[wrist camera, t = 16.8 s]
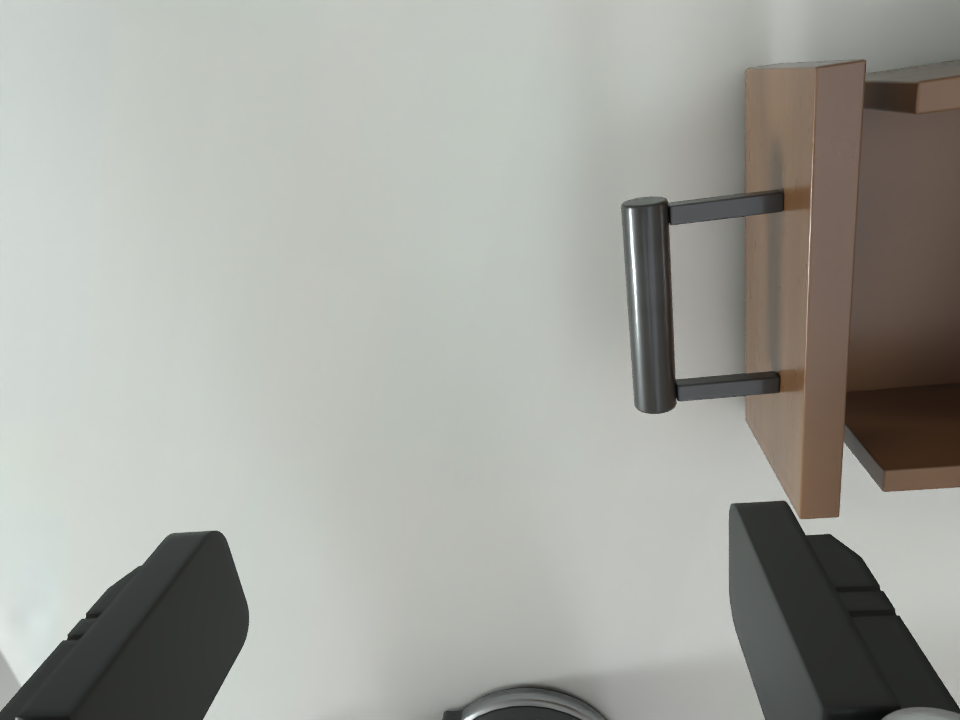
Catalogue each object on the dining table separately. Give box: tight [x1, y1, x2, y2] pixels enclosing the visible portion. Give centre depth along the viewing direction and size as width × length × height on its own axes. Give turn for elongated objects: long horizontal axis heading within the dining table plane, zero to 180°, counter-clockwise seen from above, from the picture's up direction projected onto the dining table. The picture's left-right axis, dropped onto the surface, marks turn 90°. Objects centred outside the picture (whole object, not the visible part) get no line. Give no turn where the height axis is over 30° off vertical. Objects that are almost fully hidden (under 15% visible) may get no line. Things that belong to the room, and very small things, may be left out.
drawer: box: [621, 59, 960, 519], centre depth 22 cm, size 19×13×7 cm
